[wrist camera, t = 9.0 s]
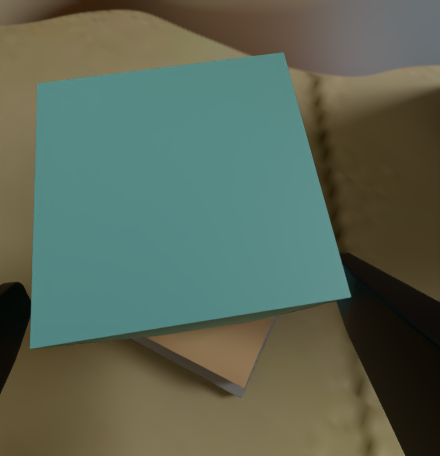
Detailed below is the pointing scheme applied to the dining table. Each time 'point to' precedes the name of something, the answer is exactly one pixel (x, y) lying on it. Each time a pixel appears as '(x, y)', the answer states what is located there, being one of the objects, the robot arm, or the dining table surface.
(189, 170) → the pillar
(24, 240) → the dining table surface
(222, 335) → the top slab
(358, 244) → the dining table surface
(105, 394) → the dining table surface
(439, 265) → the dining table surface
